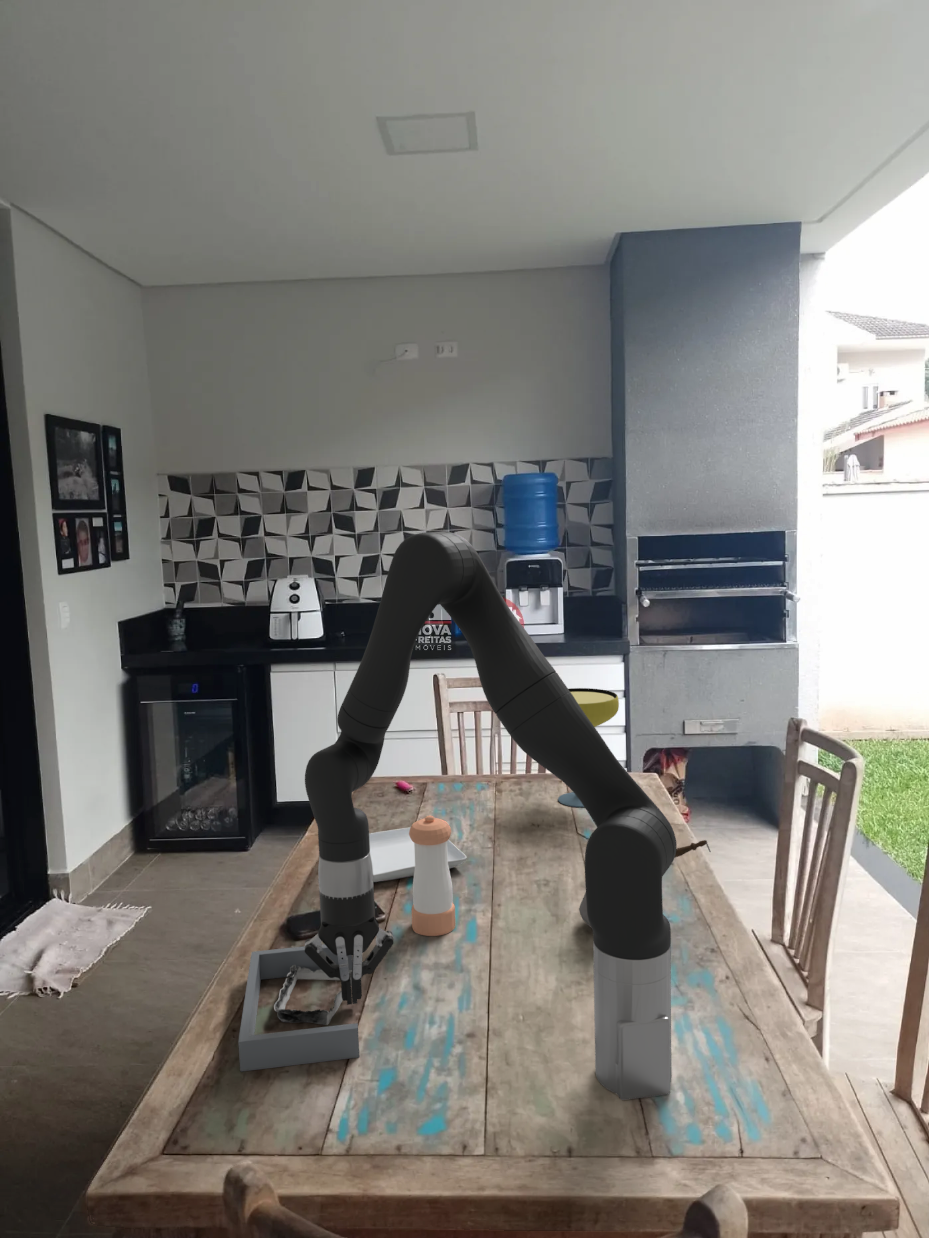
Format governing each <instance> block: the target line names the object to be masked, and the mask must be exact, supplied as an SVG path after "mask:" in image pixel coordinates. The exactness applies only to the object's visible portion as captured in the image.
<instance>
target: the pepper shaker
mask: <svg viewBox="0 0 929 1238" xmlns="http://www.w3.org/2000/svg"><path fill="white" fill-rule="evenodd" d="M410 827H411V828H410V831H409V836H410V838H411V840H412V841H413V842H414V850H415V870H414V876H413V880H412V898H413V899H412V900H413V904H412V906H411V927H412V928H411V929H412V931H413V932H415V933H416V934H418V935H421V936H424V937H425V936H427V937H436V936H437V937H438V936H443V935H447V934H449V933H450V932H453V930H454V929H455V928H456V906H455V904H454V902H453V882H452V881H453V880H452V877H451V871H450V869H449V866H448V853H447V840H449V841H450V838H451V836H452V827H451V826H450V824H449V823H448V822H447V821H446V820H443V819H441V818H437V817H434V816H433V815H427V816H425V817H424V818H421V819H418V820H417V821H414V822H413V823H412V824H411V826H410Z"/></svg>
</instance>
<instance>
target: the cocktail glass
mask: <svg viewBox="0 0 929 1238" xmlns="http://www.w3.org/2000/svg"><path fill="white" fill-rule="evenodd" d="M568 689H569V691H570V692H571V694H572V695H573V696H574V698H575V700H576V701H577V703H578V704H579V706H580V707H581V709H582V710H583V712H584V713H585V715H586V716H587V717H588V719H589V720H590V722H591V723H592V724H593V726H594V727H595V728H596V727H598V726H601V725H602V724H604V723H606V722H609V721H610V720H612V718H613V717H615V716H616V714H617V713H618V711H619V708H620V706H619V705H620V703H619V701H620V700H619V697H618V694H617V693H615V692H614V691H611V690H607V689H606V690H605V689H600V688H599V689H598V688H589V687H587V688H586V687H584V688H583V687H577V688H576V687H575V688H568ZM557 801H558V803H560V804H561V805H563V806H567V807H572V808H585V807H584V806H583V804H582V803H581V801H580V800H579V799H578V797H577V796H576V795H575V793H574V792H573V791H571V792H566V793H563V794H561V795H559V796H558V797H557Z"/></svg>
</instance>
